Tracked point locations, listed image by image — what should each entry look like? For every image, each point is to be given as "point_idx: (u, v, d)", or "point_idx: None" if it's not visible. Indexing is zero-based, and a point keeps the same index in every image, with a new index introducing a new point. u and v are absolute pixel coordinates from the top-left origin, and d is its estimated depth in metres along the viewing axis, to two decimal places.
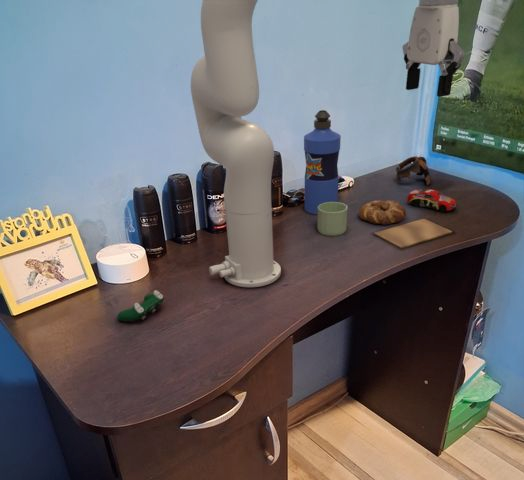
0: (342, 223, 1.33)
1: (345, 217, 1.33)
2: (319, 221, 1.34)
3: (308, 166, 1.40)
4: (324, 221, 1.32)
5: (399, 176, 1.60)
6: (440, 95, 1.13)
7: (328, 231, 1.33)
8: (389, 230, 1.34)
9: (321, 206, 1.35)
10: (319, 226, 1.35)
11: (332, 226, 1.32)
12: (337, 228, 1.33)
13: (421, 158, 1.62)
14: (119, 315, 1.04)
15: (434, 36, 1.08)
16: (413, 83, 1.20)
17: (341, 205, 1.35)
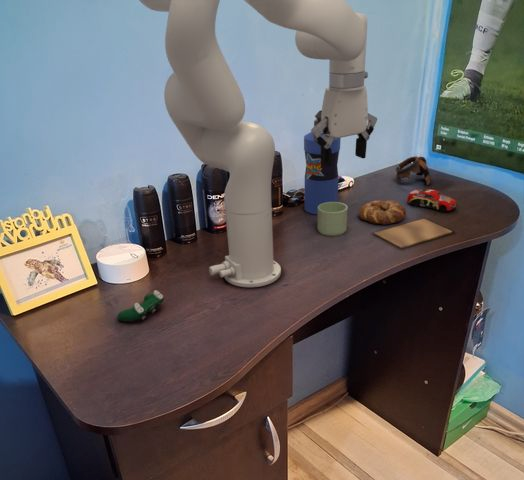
0: (342, 223, 1.33)
1: (345, 217, 1.33)
2: (319, 221, 1.34)
3: (308, 166, 1.40)
4: (324, 221, 1.32)
5: (399, 176, 1.60)
6: (322, 162, 1.26)
7: (328, 231, 1.33)
8: (389, 230, 1.34)
9: (321, 206, 1.35)
10: (319, 226, 1.35)
11: (332, 226, 1.32)
12: (337, 228, 1.33)
13: (421, 158, 1.62)
14: (119, 315, 1.04)
15: None
16: (358, 152, 1.28)
17: (341, 205, 1.35)
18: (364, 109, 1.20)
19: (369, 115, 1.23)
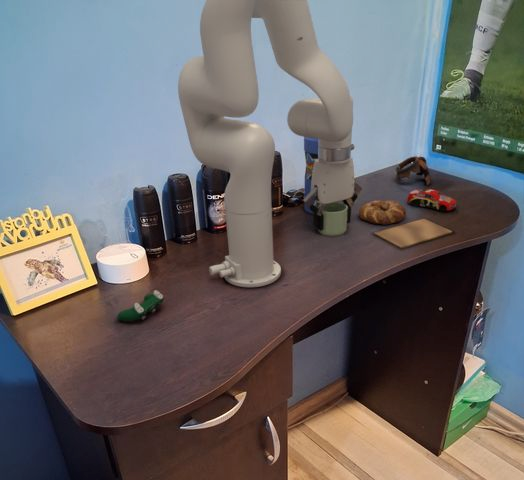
0: (342, 223, 1.33)
1: (345, 217, 1.33)
2: None
3: (308, 166, 1.40)
4: (324, 221, 1.32)
5: (399, 176, 1.60)
6: (315, 226, 1.35)
7: (328, 231, 1.33)
8: (389, 230, 1.34)
9: None
10: None
11: (332, 226, 1.32)
12: (337, 228, 1.33)
13: (421, 158, 1.62)
14: (119, 315, 1.04)
15: None
16: None
17: (341, 205, 1.35)
18: (351, 178, 1.29)
19: (355, 184, 1.32)
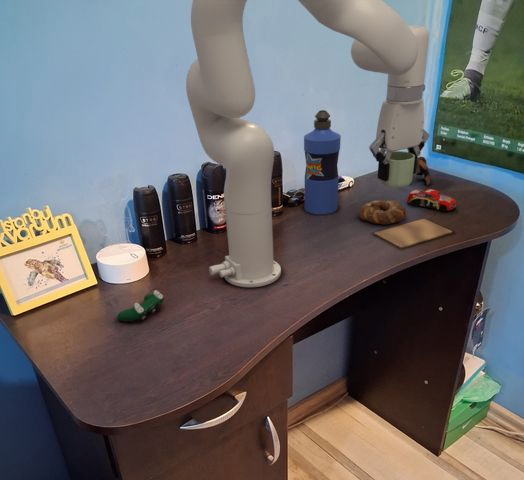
0: (409, 173, 1.23)
1: (412, 166, 1.23)
2: None
3: (308, 166, 1.40)
4: (390, 171, 1.22)
5: None
6: (378, 177, 1.25)
7: (394, 182, 1.23)
8: (389, 230, 1.34)
9: None
10: None
11: (398, 176, 1.22)
12: (404, 178, 1.23)
13: (421, 158, 1.62)
14: (119, 315, 1.04)
15: None
16: None
17: (406, 155, 1.25)
18: (421, 122, 1.19)
19: (423, 130, 1.22)
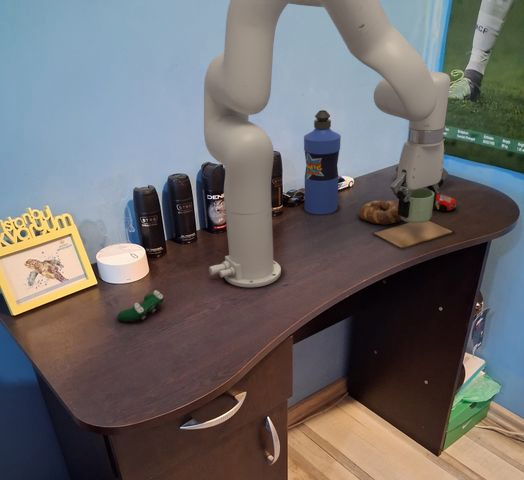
0: (429, 210, 1.26)
1: (432, 204, 1.26)
2: None
3: (308, 166, 1.40)
4: (410, 208, 1.26)
5: None
6: (398, 213, 1.29)
7: (413, 218, 1.27)
8: (389, 230, 1.34)
9: (405, 192, 1.29)
10: None
11: (418, 213, 1.26)
12: (424, 215, 1.27)
13: None
14: (119, 315, 1.04)
15: None
16: None
17: (426, 191, 1.29)
18: (440, 162, 1.23)
19: (442, 169, 1.26)
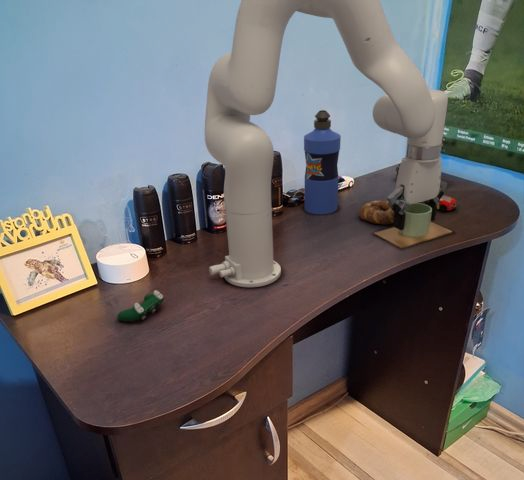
0: (426, 225, 1.29)
1: (429, 219, 1.29)
2: None
3: (308, 166, 1.40)
4: (408, 223, 1.28)
5: None
6: (394, 225, 1.30)
7: (411, 233, 1.29)
8: (389, 230, 1.34)
9: None
10: None
11: (416, 228, 1.28)
12: (421, 230, 1.29)
13: None
14: (119, 315, 1.04)
15: None
16: None
17: (424, 206, 1.31)
18: (438, 177, 1.25)
19: (441, 181, 1.28)
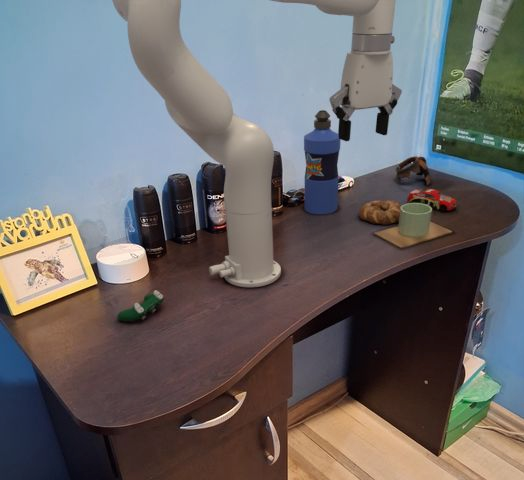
0: (426, 225, 1.29)
1: (429, 219, 1.29)
2: (402, 223, 1.30)
3: (308, 166, 1.40)
4: (408, 223, 1.28)
5: (399, 176, 1.60)
6: (339, 137, 1.13)
7: (411, 233, 1.29)
8: (389, 230, 1.34)
9: (403, 207, 1.31)
10: (401, 228, 1.31)
11: (416, 228, 1.28)
12: (421, 230, 1.29)
13: (421, 158, 1.62)
14: (119, 315, 1.04)
15: None
16: (379, 128, 1.15)
17: (424, 206, 1.31)
18: (389, 78, 1.08)
19: (393, 86, 1.11)
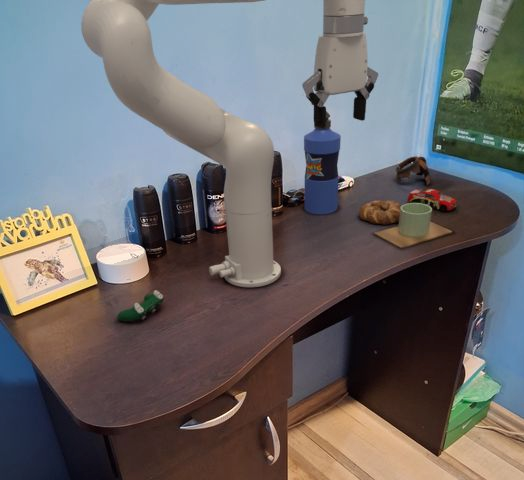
0: (426, 225, 1.29)
1: (429, 219, 1.29)
2: (402, 223, 1.30)
3: (308, 166, 1.40)
4: (408, 223, 1.28)
5: (399, 176, 1.60)
6: (315, 124, 1.10)
7: (411, 233, 1.29)
8: (389, 230, 1.34)
9: (403, 207, 1.31)
10: (401, 228, 1.31)
11: (416, 228, 1.28)
12: (421, 230, 1.29)
13: (421, 158, 1.62)
14: (119, 315, 1.04)
15: None
16: (357, 113, 1.12)
17: (424, 206, 1.31)
18: (363, 61, 1.04)
19: (369, 69, 1.07)
